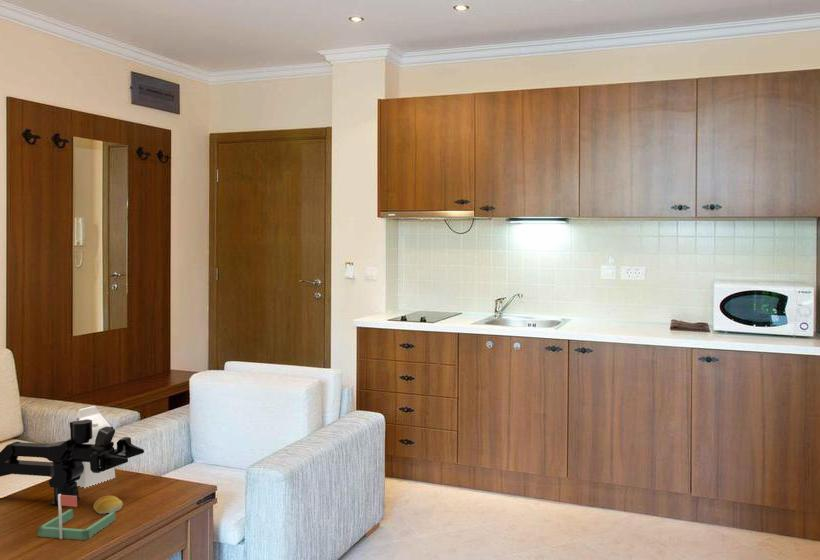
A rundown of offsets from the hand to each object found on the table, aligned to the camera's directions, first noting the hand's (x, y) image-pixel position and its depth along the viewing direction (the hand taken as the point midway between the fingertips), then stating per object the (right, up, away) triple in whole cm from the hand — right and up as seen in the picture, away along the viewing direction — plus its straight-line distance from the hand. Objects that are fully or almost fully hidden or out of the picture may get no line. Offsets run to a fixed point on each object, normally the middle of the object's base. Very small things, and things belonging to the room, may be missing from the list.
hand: (135, 455), depth 226 cm
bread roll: (-9, -17, 0) cm, 19 cm away
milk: (-26, -15, +26) cm, 40 cm away
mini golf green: (-11, -18, -15) cm, 26 cm away
